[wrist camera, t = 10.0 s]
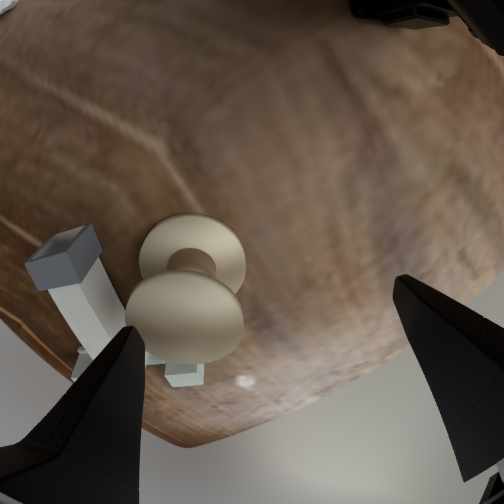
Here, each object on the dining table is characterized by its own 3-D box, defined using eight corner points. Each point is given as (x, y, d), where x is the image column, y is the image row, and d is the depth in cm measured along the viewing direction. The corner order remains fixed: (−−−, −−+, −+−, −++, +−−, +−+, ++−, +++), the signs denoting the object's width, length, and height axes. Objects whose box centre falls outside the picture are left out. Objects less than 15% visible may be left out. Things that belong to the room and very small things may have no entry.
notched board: (78, 346, 27) (68, 375, 24) (197, 335, 27) (194, 369, 23) (92, 363, 29) (83, 391, 25) (206, 354, 28) (205, 387, 25)
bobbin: (126, 226, 20) (93, 285, 14) (233, 202, 20) (237, 259, 14) (162, 307, 25) (148, 373, 19) (253, 292, 24) (262, 360, 18)
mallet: (154, 352, 27) (146, 387, 23) (117, 355, 27) (106, 388, 23) (91, 223, 20) (66, 252, 16) (51, 235, 20) (24, 263, 16)
